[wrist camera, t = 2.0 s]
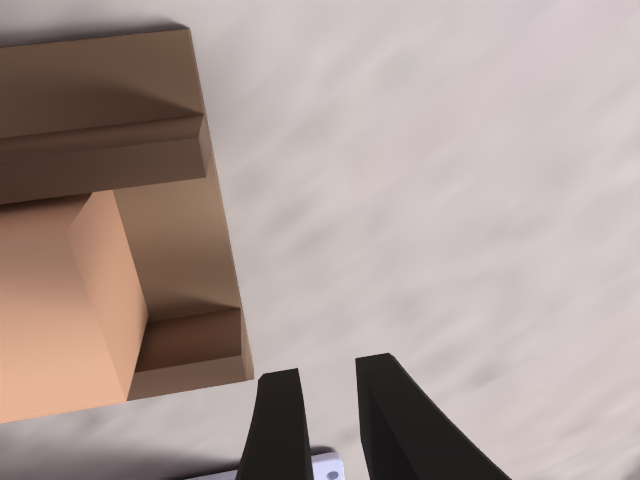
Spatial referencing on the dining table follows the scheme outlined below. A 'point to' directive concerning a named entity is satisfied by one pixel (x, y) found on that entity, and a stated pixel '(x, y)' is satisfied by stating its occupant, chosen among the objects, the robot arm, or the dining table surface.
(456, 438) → the robot arm
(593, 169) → the dining table surface
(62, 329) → the terracotta block
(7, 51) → the chute
